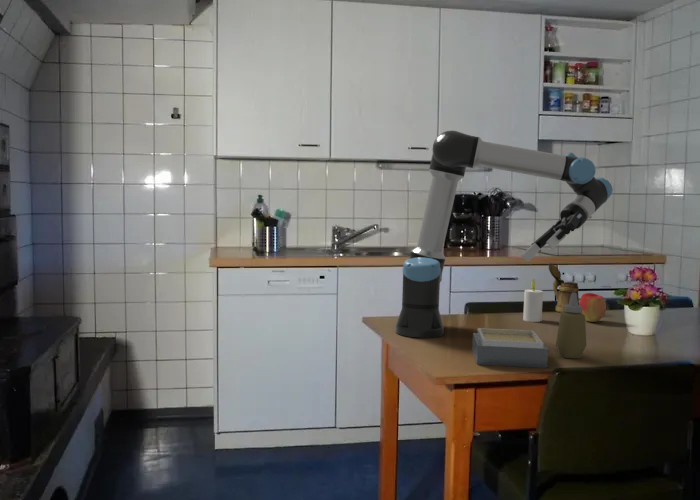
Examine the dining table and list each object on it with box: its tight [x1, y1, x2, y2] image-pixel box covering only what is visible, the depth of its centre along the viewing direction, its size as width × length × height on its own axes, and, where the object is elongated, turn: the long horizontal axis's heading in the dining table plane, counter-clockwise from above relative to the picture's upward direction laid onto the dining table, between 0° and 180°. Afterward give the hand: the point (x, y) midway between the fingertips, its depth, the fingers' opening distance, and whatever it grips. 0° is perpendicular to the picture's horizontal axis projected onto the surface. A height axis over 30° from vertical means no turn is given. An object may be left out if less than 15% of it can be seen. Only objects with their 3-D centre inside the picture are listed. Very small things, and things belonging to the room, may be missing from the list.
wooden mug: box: [548, 262, 580, 314], centre depth 261 cm, size 9×14×18 cm, turn 42°
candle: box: [522, 278, 544, 323], centre depth 241 cm, size 6×6×15 cm
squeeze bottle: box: [555, 292, 587, 359], centre depth 189 cm, size 8×8×18 cm
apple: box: [579, 292, 607, 323], centre depth 241 cm, size 10×10×10 cm
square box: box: [471, 327, 549, 369], centre depth 186 cm, size 18×16×6 cm
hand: (536, 252), depth 204 cm, fingers open, 13 cm apart
